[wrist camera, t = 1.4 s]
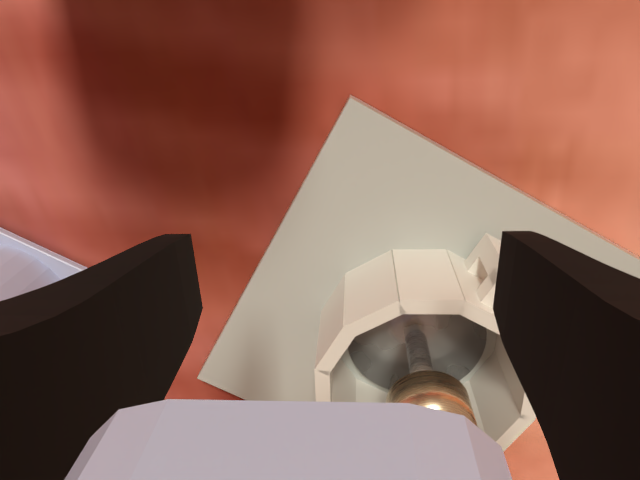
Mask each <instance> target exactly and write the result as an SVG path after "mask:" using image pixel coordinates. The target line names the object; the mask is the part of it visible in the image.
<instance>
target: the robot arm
mask: <svg viewBox="0 0 640 480" xmlns="http://www.w3.org/2000/svg"><path fill="white" fill-rule="evenodd" d="M202 308H203V307H202V301H201V295H200V289H199V282H198V276H197V270H196V264H195V258H194V251H193V245H192V239H191V234H165V235H161V236H158V237H155V238H152V239H150V240H148V241H145V242H143V243H141V244H139V245H136V246H134V247H132V248H130V249H128V250H126V251H124V252H122V253H120V254H117V255H115V256H113V257H111V258H109V259H107V260H105V261H103V262H101V263H98V264H96V265H94V266H92V267H89V268H87V267H85V266H83V265H80V264H78V263H76V262H74V261H72V260H70V259H68V258H65V257H63V256H61V255H59V254H57V253H55V252H52V251H50V250H48V249H46V248H44V247H42V246H40V245H37V244H35V243H33V242H31V241H29V240H27V239H24V238H22V237H20V236H18V235H16V234H14V233H12V232H9V231H7V230H5V229H3V228H1V227H0V480H512V477H511V474H510V471H509V468H508V465H507V462H506V459H505V456H504V453H503V450H502V447H501V446H500V445H499V444H498V443H497V442H495V441H494V440H493V439H492V438H490V437H489V436H488V435H487V434H486V433H484V432H483V431H482V430H481V429H480V428H478V427H477V426H476V425H475V424H474V423H472V422H471V421H470V420H469V419H468V418H466V417H465V416H464V415H460V414H455V413H451V412H446V411H442V410H437V409H433V408H428V407H424V406H419V405H415V404H410V403H375V402H313V401H250V400H187V399H167V400H164V398H165V396H166V394H167V392H168V390H169V388H170V386H171V384H172V382H173V380H174V378H175V376H176V374H177V372H178V370H179V368H180V366H181V364H182V362H183V360H184V358H185V356H186V354H187V352H188V350H189V347H190V345H191V343H192V341H193V338H194V335H195V332H196V329H197V326H198V322H199V319H200V315H201V312H202ZM493 311H494V315H495V319H496V323H497V326H498V330H499V333H500V336H501V340H502V343H503V346H504V348H505V350H506V352H507V355H508V357H509V359H510V361H511V363H512V366H513V368H514V370H515V372H516V374H517V377H518V379H519V381H520V383H521V385H522V387H523V389H524V392H525V394H526V396H527V398H528V400H529V402H530V404H531V407H532V409H533V411H534V413H535V415H536V417H537V419H538V422H539V424H540V426H541V429H542V431H543V433H544V436H545V438H546V441H547V443H548V446H549V449H550V452H551V455H552V458H553V461H554V464H555V467H556V470H557V473H558V476H559V479H560V480H640V278H637V277H635V276H632V275H630V274H628V273H625V272H623V271H620V270H618V269H616V268H613V267H611V266H609V265H607V264H604V263H602V262H600V261H598V260H596V259H594V258H591V257H589V256H587V255H585V254H583V253H581V252H579V251H577V250H575V249H572V248H570V247H568V246H566V245H564V244H562V243H560V242H558V241H556V240H553V239H551V238H549V237H547V236H544V235H542V234H539V233H536V232H533V231H502V238H501V246H500V254H499V262H498V270H497V278H496V286H495V294H494V302H493Z"/></svg>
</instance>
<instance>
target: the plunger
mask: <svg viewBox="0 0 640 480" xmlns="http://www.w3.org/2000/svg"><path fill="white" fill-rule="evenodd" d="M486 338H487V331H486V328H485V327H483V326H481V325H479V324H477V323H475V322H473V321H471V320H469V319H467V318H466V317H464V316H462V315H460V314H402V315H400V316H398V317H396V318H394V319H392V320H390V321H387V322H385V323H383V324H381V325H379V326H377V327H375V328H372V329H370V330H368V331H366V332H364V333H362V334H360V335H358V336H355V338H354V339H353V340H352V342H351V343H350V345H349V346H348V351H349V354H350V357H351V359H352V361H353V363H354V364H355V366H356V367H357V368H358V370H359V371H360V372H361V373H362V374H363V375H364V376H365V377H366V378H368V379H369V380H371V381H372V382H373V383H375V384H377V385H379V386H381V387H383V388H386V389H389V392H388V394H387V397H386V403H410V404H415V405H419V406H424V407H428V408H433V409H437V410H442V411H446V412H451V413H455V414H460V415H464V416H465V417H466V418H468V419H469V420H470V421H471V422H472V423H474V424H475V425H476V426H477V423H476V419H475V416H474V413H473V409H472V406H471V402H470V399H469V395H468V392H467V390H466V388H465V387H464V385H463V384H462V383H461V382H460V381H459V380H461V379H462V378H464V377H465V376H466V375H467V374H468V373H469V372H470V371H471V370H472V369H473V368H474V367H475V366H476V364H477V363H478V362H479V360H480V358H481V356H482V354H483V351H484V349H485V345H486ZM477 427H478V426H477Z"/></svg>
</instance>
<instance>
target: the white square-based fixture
mask: <svg viewBox="0 0 640 480" xmlns="http://www.w3.org/2000/svg"><path fill="white" fill-rule="evenodd" d="M502 231H533V232H536V233H539V234H542V235H544V236H547V237H549V238H551V239H553V240H556V241H558V242H560V243H562V244H564V245H566V246H568V247H570V248H572V249H575V250H577V251H579V252H581V253H583V254H585V255H587V256H589V257H591V258H594V259H596V260H598V261H600V262H602V263H604V264H607V265H609V266H611V267H613V268H616V269H618V270H620V271H623V272H625V273H628V274H630V275H632V276H635V277H637V278H640V257H639V256H637V255H635V254H633V253H632V252H630V251H628V250H626V249H624V248H623V247H621V246H619V245H617V244H616V243H614V242H612V241H610V240H608V239H607V238H605V237H603V236H601V235H600V234H598V233H596V232H594V231H592V230H591V229H589V228H587V227H585V226H584V225H582V224H580V223H578V222H576V221H575V220H573V219H571V218H569V217H568V216H566V215H564V214H562V213H560V212H559V211H557V210H555V209H553V208H552V207H550V206H548V205H546V204H544V203H543V202H541V201H539V200H537V199H536V198H534V197H532V196H530V195H528V194H527V193H525V192H523V191H521V190H520V189H518V188H516V187H514V186H512V185H511V184H509V183H507V182H505V181H504V180H502V179H500V178H498V177H496V176H495V175H493V174H491V173H489V172H488V171H486V170H484V169H482V168H480V167H479V166H477V165H475V164H473V163H472V162H470V161H468V160H466V159H464V158H463V157H461V156H459V155H457V154H456V153H454V152H452V151H450V150H448V149H447V148H445V147H443V146H441V145H440V144H438V143H436V142H434V141H432V140H431V139H429V138H427V137H425V136H424V135H422V134H420V133H418V132H416V131H415V130H413V129H411V128H409V127H408V126H406V125H404V124H402V123H400V122H399V121H397V120H395V119H393V118H392V117H390V116H388V115H386V114H384V113H383V112H381V111H379V110H377V109H376V108H374V107H372V106H370V105H368V104H367V103H365V102H363V101H361V100H360V99H358V98H356V97H354V96H352V95H351V94H350V96H349V98H348V99H347V101H346V103H345V105H344V107H343V109H342V110H341V112H340V114H339V116H338V118H337V120H336V121H335V123H334V125H333V127H332V129H331V131H330V133H329V134H328V136H327V138H326V140H325V142H324V144H323V145H322V147H321V149H320V151H319V153H318V155H317V156H316V158H315V160H314V162H313V164H312V166H311V167H310V169H309V171H308V173H307V175H306V177H305V178H304V180H303V182H302V184H301V186H300V188H299V190H298V191H297V193H296V195H295V197H294V199H293V201H292V202H291V204H290V206H289V208H288V210H287V212H286V213H285V215H284V217H283V219H282V221H281V223H280V224H279V226H278V228H277V230H276V232H275V234H274V236H273V237H272V239H271V241H270V243H269V245H268V247H267V248H266V250H265V252H264V254H263V256H262V258H261V259H260V261H259V263H258V265H257V267H256V269H255V270H254V272H253V274H252V276H251V278H250V280H249V282H248V283H247V285H246V287H245V289H244V291H243V293H242V294H241V296H240V298H239V300H238V302H237V304H236V305H235V307H234V309H233V311H232V313H231V315H230V316H229V318H228V320H227V322H226V324H225V326H224V328H223V329H222V331H221V333H220V335H219V337H218V339H217V340H216V342H215V344H214V346H213V348H212V350H211V351H210V353H209V355H208V357H207V359H206V361H205V362H204V364H203V366H202V368H201V370H200V373H199V375H198V377H197V379H200V380H202V381H204V382H206V383H209V384H211V385H213V386H215V387H217V388H220V389H222V390H224V391H226V392H229V393H231V394H233V395H235V396H238V397H240V398H242V399H244V400H250V401H313V402H375V403H386V397H387V394H388V392H389V389H386V388H383V387H381V386H379V385H377V384H375V383H373V382H372V381H371V380H369V379H368V378H366V377H365V376H364V375H363V374H362V373H361V372H360V371H359V370H358V368H357V367H356V366H355V364H354V363H353V361H352V359H351V357H350V354H349V351H348V346H349V345H350V343H351V342H352V340H353V339H354V338H355V336H358V335H360V334H362V333H364V332H366V331H368V330H370V329H372V328H375V327H377V326H379V325H381V324H383V323H385V322H387V321H390V320H392V319H394V318H396V317H398V316H400V315H402V314H460V315H462V316H464V317H466V318H467V319H469V320H471V321H473V322H475V323H477V324H479V325H481V326H483V327H485V328H486V331H487V338H486V345H485V349H484V351H483V354H482V356H481V358H480V360H479V362H478V363H477V364H476V366H475V367H474V368H473V369H472V370H471V371H470V372H469V373H468V374H467V375H466V376H465V377H464V378H462V379H461V380H459V381H460V382H461V383H462V384H463V385H464V387H465V388H466V390H467V392H468V395H469V399H470V402H471V406H472V409H473V413H474V416H475V419H476V423H477V426H478V428H480V429H481V430H482V431H483V432H484V433H486V434H487V435H488V436H489V437H490V438H492V439H493V440H494V441H495V442H497V443H498V444H499V445H500V446H501V447H502V450H503V452H504V451H505V450H506V449H507V448H508V447H509V446H510V445H511V444H512V443H513V442H514V441H515V440H516V439H517V438H518V437H519V436H520V435H521V434H522V433H523V432H524V431H525V430H526V429H527V428H528V427H529V426H530V425H531V424H532V423H533V422H534V421H535V419H536V415H535V413H534V411H533V409H532V407H531V404H530V402H529V400H528V398H527V396H526V394H525V392H524V389H523V387H522V385H521V383H520V381H519V379H518V377H517V374H516V372H515V370H514V368H513V366H512V363H511V361H510V359H509V357H508V355H507V352H506V350H505V348H504V346H503V343H502V340H501V336H500V333H499V330H498V326H497V323H496V319H495V315H494V311H493V302H494V294H495V286H496V278H497V270H498V262H499V254H500V246H501V238H502Z"/></svg>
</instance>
